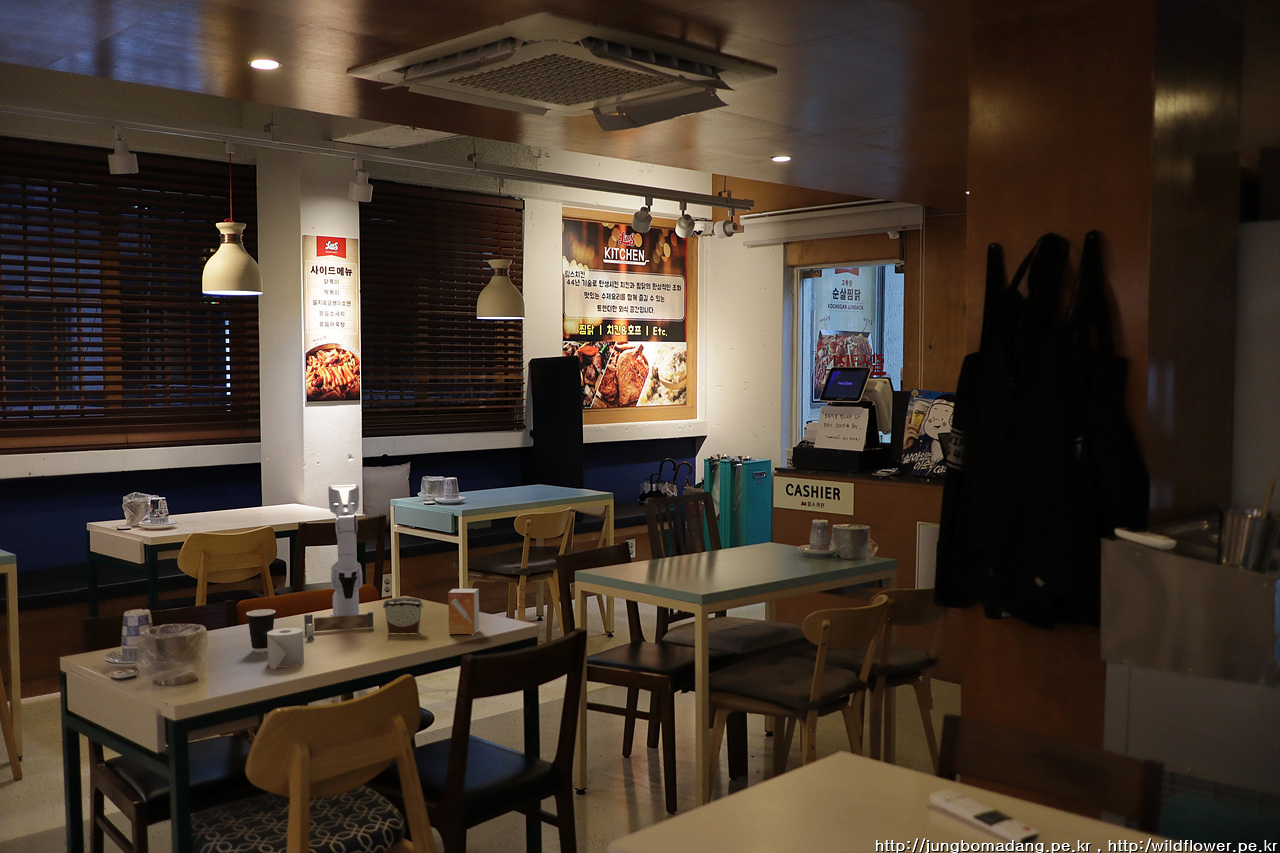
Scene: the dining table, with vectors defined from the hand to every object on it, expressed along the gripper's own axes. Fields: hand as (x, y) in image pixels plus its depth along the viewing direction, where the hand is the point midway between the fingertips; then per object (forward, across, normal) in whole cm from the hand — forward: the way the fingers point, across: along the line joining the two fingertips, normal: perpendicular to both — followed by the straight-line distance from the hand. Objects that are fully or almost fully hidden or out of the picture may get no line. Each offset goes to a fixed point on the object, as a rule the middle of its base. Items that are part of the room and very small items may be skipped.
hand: (348, 596), depth 341 cm
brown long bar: (+9, +5, -2) cm, 10 cm away
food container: (+10, +14, +17) cm, 24 cm away
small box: (+10, +22, +33) cm, 41 cm away
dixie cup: (+10, +23, -24) cm, 35 cm away
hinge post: (+9, +5, -12) cm, 16 cm away
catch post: (+9, +14, -11) cm, 20 cm away
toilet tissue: (+10, +42, -18) cm, 47 cm away
